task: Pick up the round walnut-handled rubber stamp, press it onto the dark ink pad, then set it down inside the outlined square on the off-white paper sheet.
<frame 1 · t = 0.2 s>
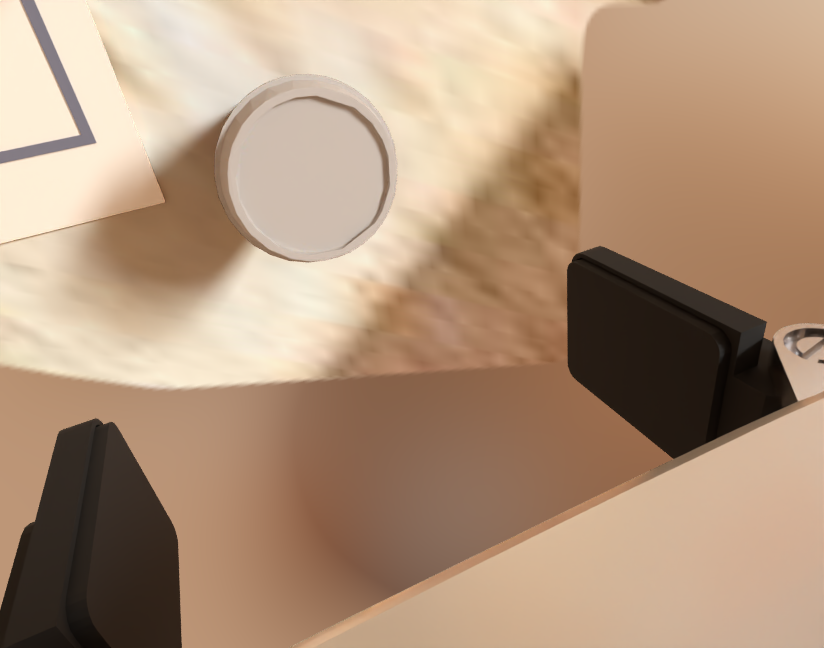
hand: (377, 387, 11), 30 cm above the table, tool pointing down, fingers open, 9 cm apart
disposable coffee cup: (274, 142, 37), on the table
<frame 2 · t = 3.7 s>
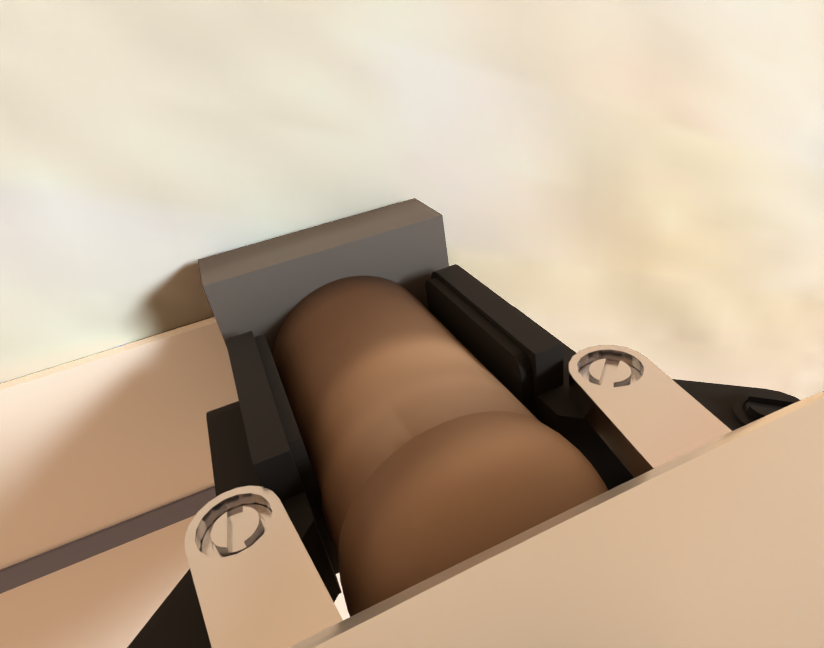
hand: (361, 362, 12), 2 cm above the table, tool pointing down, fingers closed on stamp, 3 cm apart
sheet: (132, 642, 16), on the table
stamp: (337, 322, 13), on the table, touching gripper, sheet
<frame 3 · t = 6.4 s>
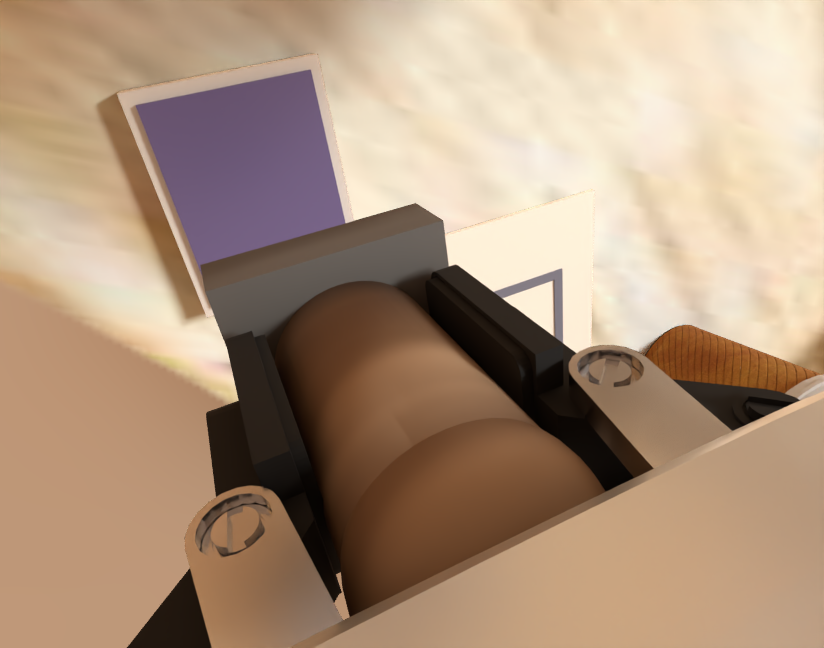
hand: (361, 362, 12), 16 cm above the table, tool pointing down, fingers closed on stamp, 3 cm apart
disposable coffee cup: (669, 359, 43), on the table
sheet: (500, 350, 35), on the table
stamp: (338, 327, 13), point 15 cm above the table, touching gripper
ink pad: (255, 188, 25), on the table
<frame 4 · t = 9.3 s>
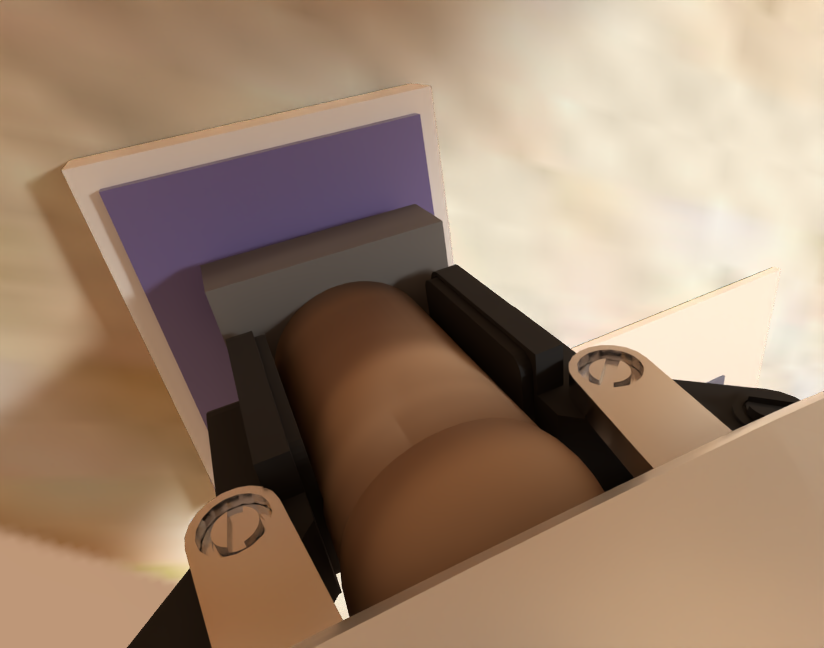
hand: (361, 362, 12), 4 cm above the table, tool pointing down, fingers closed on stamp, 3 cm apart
sheet: (630, 485, 25), on the table
stamp: (338, 327, 13), point 2 cm above the table, touching gripper
ink pad: (308, 305, 15), on the table
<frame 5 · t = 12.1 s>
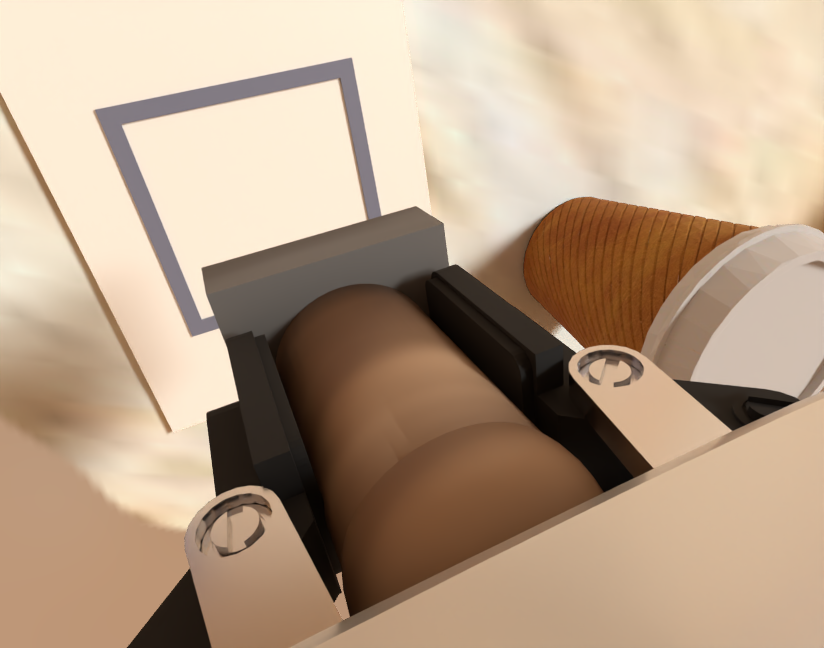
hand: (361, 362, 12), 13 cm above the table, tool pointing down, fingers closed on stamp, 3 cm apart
disposable coffee cup: (570, 252, 30), on the table
sheet: (266, 202, 22), on the table
stamp: (338, 329, 13), point 11 cm above the table, touching gripper
when the fingers open (3 cm above the table, at t = 14.8 s): stamp stays where it is, resting on sheet.
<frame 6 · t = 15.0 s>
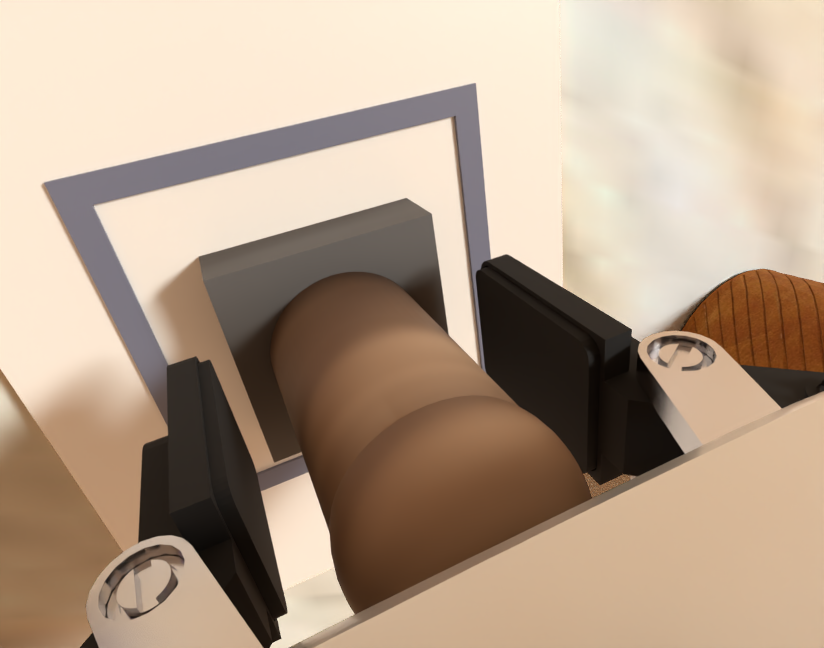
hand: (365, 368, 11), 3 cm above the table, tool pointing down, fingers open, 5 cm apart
disposable coffee cup: (724, 340, 22), on the table
sheet: (328, 309, 14), on the table
stamp: (332, 317, 14), resting on sheet
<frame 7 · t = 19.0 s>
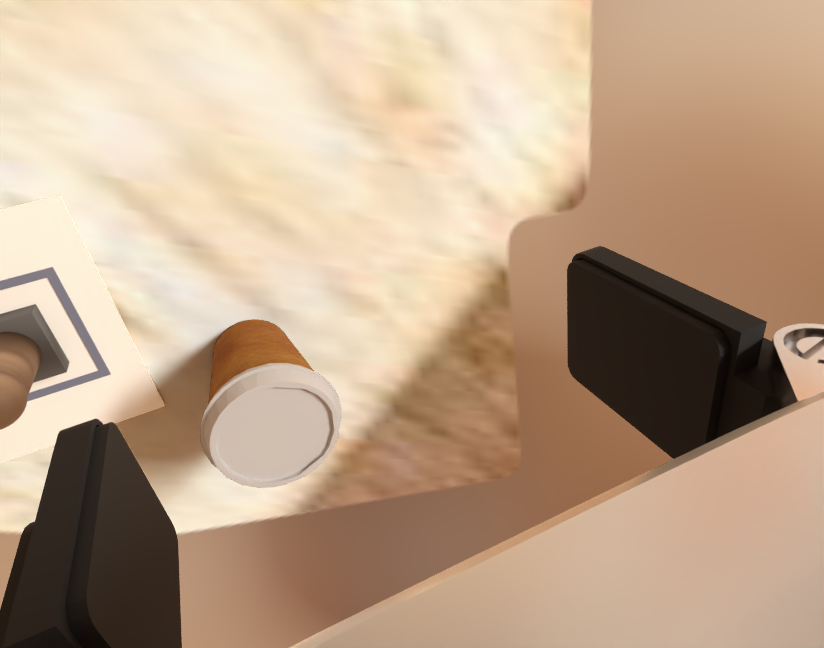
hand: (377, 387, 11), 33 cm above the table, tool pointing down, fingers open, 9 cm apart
disposable coffee cup: (252, 351, 46), on the table
sheet: (15, 342, 39), on the table
stamp: (15, 345, 38), resting on sheet
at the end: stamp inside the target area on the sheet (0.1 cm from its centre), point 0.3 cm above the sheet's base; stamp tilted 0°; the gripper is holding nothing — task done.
